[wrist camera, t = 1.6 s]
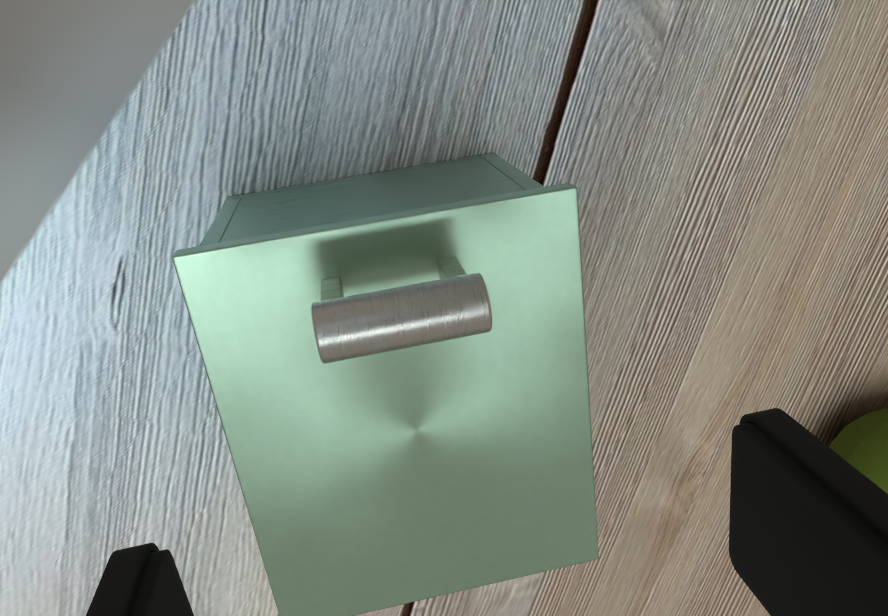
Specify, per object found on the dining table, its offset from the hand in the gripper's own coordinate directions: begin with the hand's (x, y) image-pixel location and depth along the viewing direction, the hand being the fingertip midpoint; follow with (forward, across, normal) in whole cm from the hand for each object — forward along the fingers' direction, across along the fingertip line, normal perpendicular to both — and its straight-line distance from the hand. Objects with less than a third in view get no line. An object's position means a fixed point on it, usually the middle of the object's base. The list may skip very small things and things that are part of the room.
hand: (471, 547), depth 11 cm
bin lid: (+14, 0, +6) cm, 16 cm away
